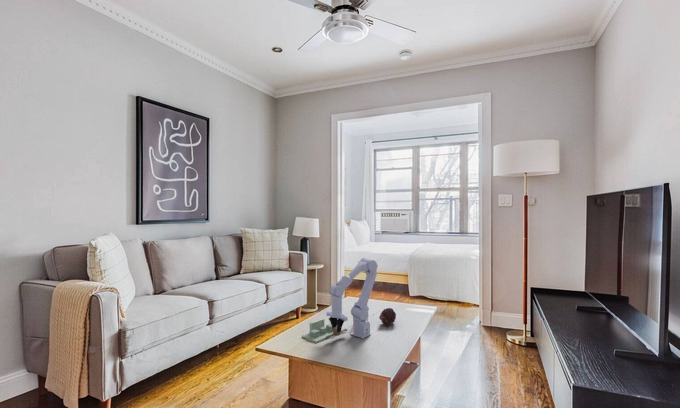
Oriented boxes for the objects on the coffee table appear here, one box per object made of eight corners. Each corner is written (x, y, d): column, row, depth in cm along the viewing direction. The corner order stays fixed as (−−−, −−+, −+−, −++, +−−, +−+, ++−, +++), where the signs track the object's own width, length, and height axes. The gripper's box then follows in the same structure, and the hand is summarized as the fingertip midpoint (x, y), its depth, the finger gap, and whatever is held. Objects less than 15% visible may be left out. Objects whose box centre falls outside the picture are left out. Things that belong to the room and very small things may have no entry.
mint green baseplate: (343, 332, 209) (343, 320, 209) (316, 343, 193) (316, 330, 193) (329, 327, 217) (329, 316, 217) (301, 337, 201) (301, 325, 201)
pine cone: (385, 318, 234) (385, 303, 234) (400, 321, 229) (400, 305, 229) (375, 327, 218) (375, 310, 218) (391, 329, 213) (391, 313, 213)
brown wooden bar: (349, 331, 202) (349, 324, 202) (329, 339, 191) (329, 332, 190) (343, 329, 205) (343, 322, 205) (323, 337, 194) (323, 330, 193)
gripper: (322, 305, 200) (322, 329, 200) (341, 311, 190) (341, 336, 190) (331, 303, 205) (331, 326, 205) (350, 308, 195) (350, 332, 195)
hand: (336, 330), depth 198 cm, fingers closed on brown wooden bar, 3 cm apart
